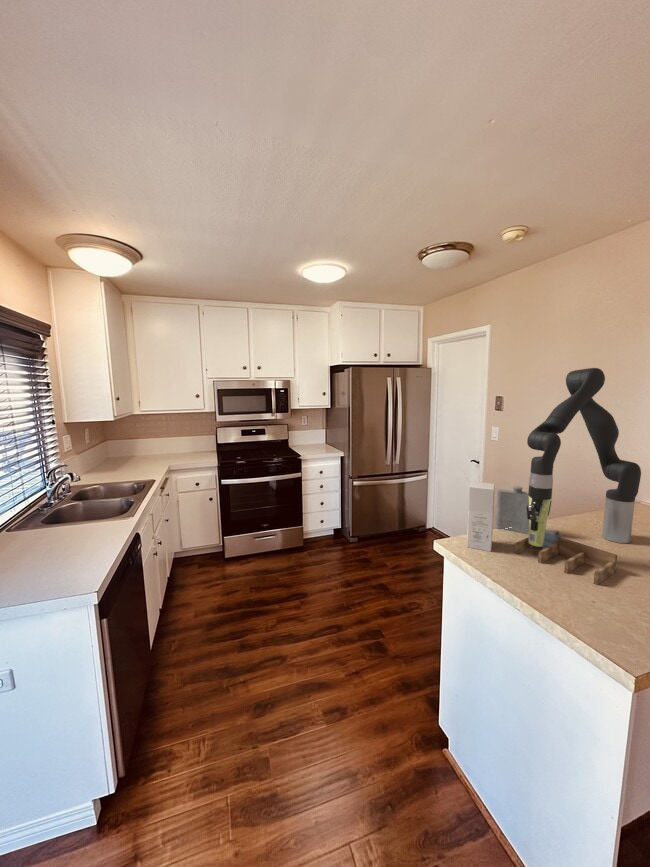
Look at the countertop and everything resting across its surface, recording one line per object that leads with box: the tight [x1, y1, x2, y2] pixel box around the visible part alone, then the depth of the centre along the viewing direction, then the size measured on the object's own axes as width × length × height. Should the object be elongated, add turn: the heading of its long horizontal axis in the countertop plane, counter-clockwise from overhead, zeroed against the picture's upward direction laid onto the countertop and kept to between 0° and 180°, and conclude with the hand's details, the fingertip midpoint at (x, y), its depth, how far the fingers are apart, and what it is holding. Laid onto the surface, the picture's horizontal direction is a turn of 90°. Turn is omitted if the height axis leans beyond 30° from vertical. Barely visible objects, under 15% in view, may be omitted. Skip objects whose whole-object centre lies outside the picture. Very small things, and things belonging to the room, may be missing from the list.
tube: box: [528, 496, 553, 548], centre depth 133 cm, size 6×5×20 cm
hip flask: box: [494, 485, 529, 536], centre depth 155 cm, size 16×4×20 cm, turn 56°
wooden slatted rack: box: [514, 529, 618, 586], centre depth 128 cm, size 15×27×8 cm, turn 33°
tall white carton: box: [466, 481, 496, 552], centre depth 141 cm, size 9×9×25 cm
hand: (537, 528), depth 134 cm, fingers closed on tube, 4 cm apart
